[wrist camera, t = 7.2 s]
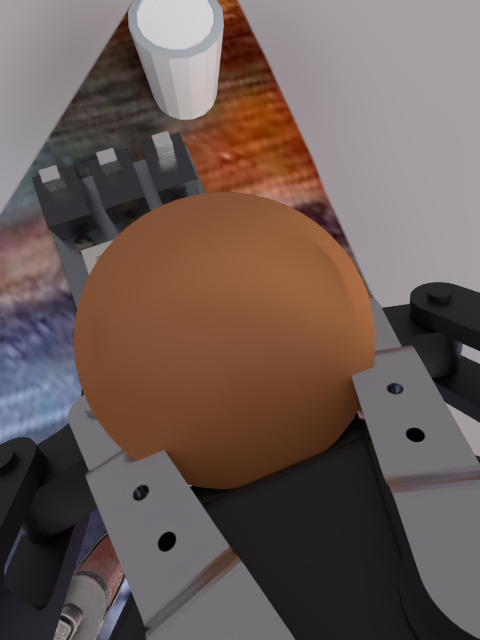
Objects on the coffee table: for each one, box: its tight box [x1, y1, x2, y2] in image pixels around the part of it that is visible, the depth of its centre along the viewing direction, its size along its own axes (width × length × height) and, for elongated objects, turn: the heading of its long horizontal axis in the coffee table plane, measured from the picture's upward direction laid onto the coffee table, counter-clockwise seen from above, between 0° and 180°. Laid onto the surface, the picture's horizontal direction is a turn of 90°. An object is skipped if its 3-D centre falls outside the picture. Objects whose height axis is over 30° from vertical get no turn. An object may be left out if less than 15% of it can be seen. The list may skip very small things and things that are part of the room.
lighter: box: [53, 531, 126, 640], centre depth 22 cm, size 8×3×10 cm, turn 151°
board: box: [32, 131, 205, 309], centre depth 28 cm, size 12×15×6 cm
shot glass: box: [128, 0, 224, 120], centre depth 31 cm, size 7×7×7 cm
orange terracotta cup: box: [74, 192, 375, 489], centre depth 12 cm, size 5×5×10 cm
